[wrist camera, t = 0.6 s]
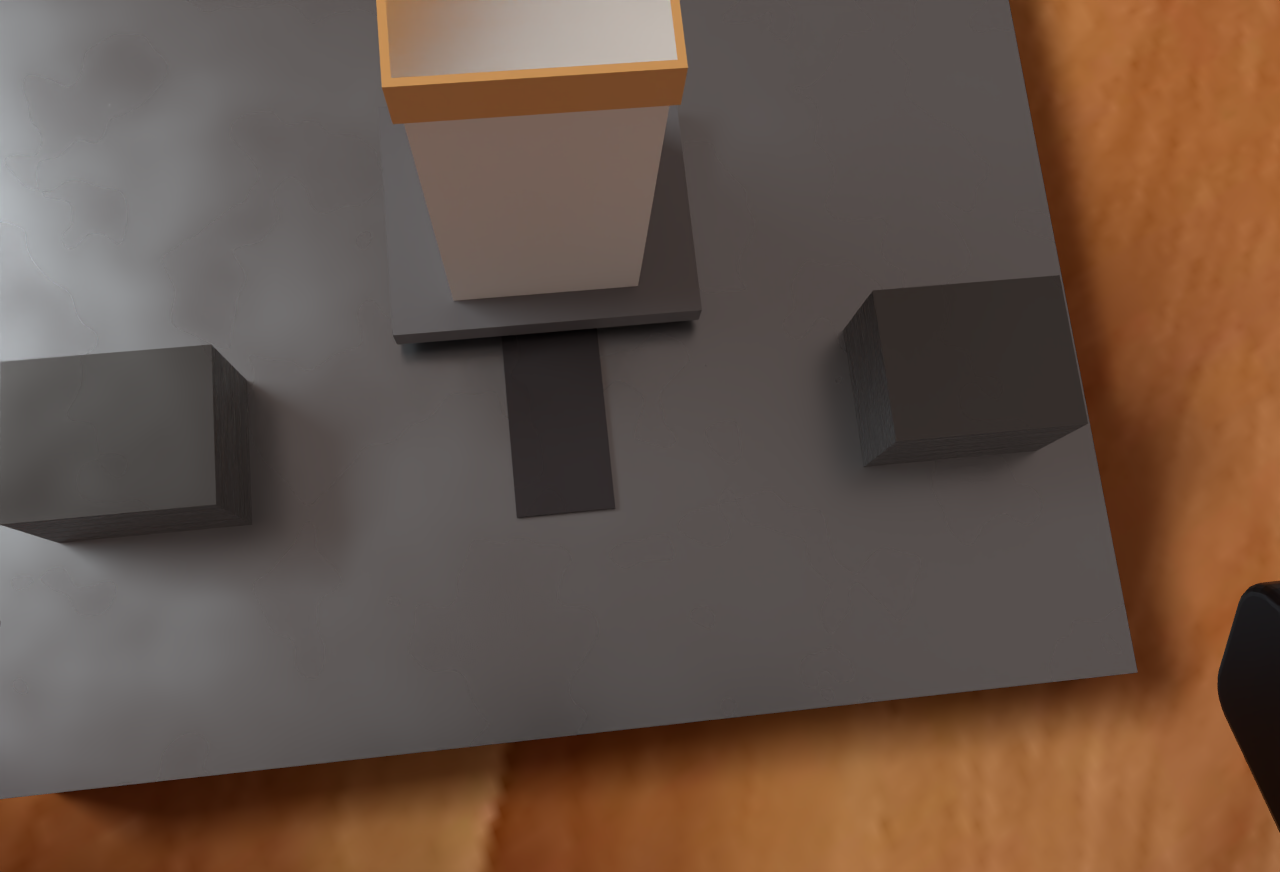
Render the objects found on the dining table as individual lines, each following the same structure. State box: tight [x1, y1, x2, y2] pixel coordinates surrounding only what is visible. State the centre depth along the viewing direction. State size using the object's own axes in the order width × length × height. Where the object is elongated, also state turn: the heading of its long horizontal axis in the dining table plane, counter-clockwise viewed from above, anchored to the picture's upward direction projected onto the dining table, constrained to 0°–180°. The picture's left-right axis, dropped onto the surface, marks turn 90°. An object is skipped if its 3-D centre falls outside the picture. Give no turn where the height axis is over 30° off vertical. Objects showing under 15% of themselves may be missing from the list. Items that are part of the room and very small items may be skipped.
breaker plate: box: [0, 0, 1138, 799], centre depth 20 cm, size 15×18×4 cm
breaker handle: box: [376, 0, 702, 345], centre depth 16 cm, size 4×5×8 cm
